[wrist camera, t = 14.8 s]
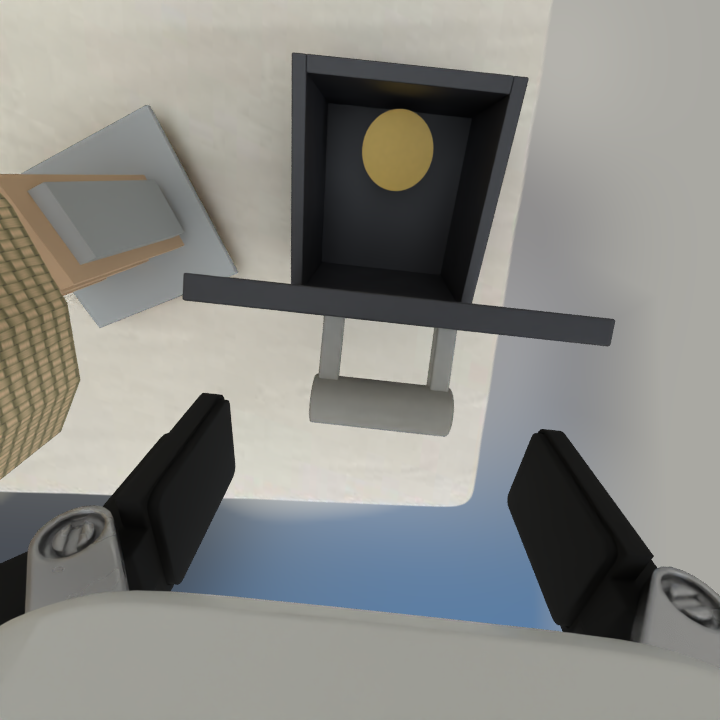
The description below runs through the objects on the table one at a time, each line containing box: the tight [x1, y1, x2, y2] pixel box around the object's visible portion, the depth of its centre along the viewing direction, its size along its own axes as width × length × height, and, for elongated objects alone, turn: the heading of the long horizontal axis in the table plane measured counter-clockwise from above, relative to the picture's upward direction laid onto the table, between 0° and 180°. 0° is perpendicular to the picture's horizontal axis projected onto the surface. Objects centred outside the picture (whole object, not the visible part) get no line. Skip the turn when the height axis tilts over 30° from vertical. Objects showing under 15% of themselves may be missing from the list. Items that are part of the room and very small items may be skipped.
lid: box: [183, 273, 615, 437], centre depth 18 cm, size 14×13×5 cm
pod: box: [362, 109, 433, 191], centre depth 26 cm, size 5×5×5 cm
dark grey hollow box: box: [291, 53, 529, 304], centre depth 26 cm, size 14×13×10 cm
